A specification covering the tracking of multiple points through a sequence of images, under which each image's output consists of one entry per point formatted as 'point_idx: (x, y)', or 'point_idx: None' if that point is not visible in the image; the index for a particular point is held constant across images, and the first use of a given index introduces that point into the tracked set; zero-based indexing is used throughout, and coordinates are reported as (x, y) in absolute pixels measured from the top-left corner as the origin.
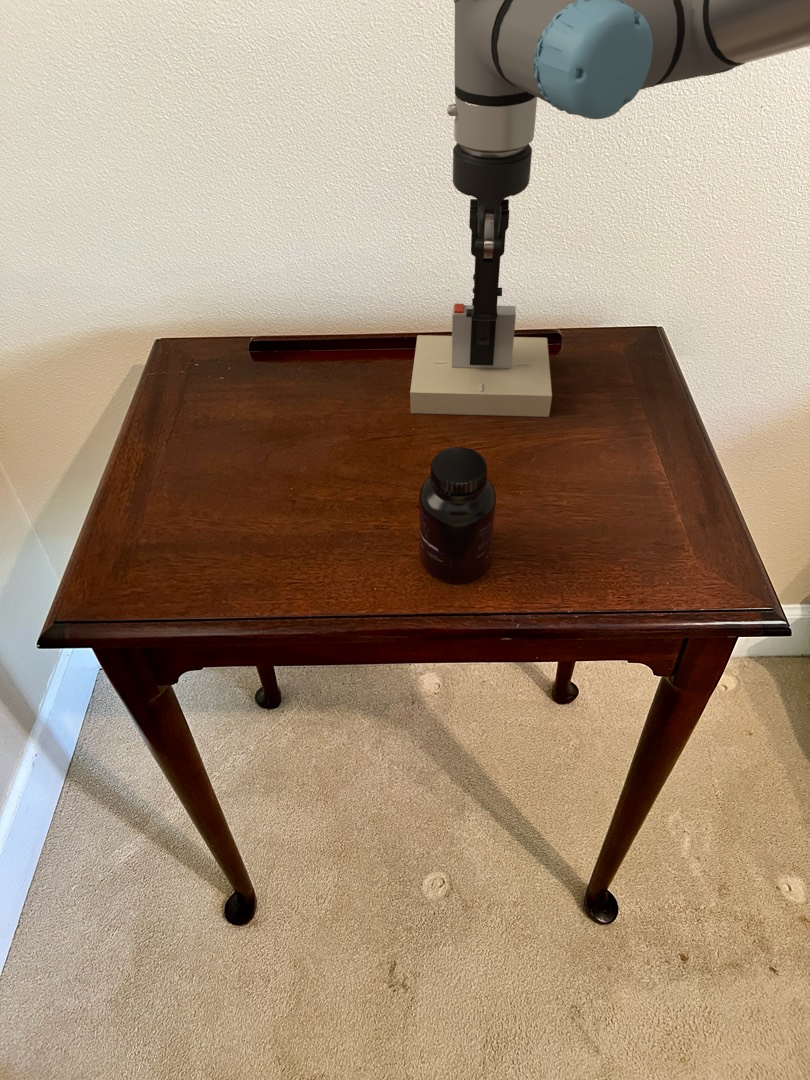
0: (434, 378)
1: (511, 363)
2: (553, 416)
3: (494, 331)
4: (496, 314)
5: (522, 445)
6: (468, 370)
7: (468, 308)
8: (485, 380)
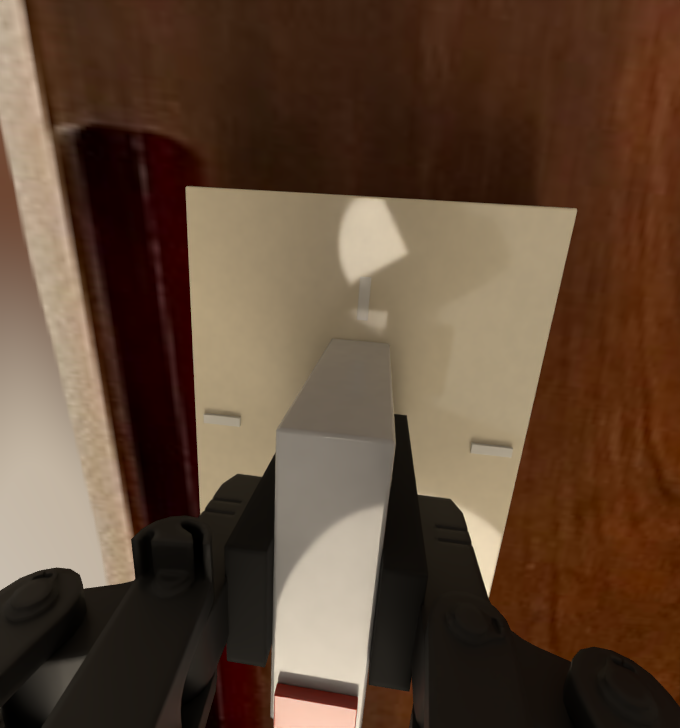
0: None
1: (389, 348)
2: (535, 202)
3: (417, 502)
4: (659, 716)
5: (662, 315)
6: None
7: (306, 665)
8: (450, 431)
